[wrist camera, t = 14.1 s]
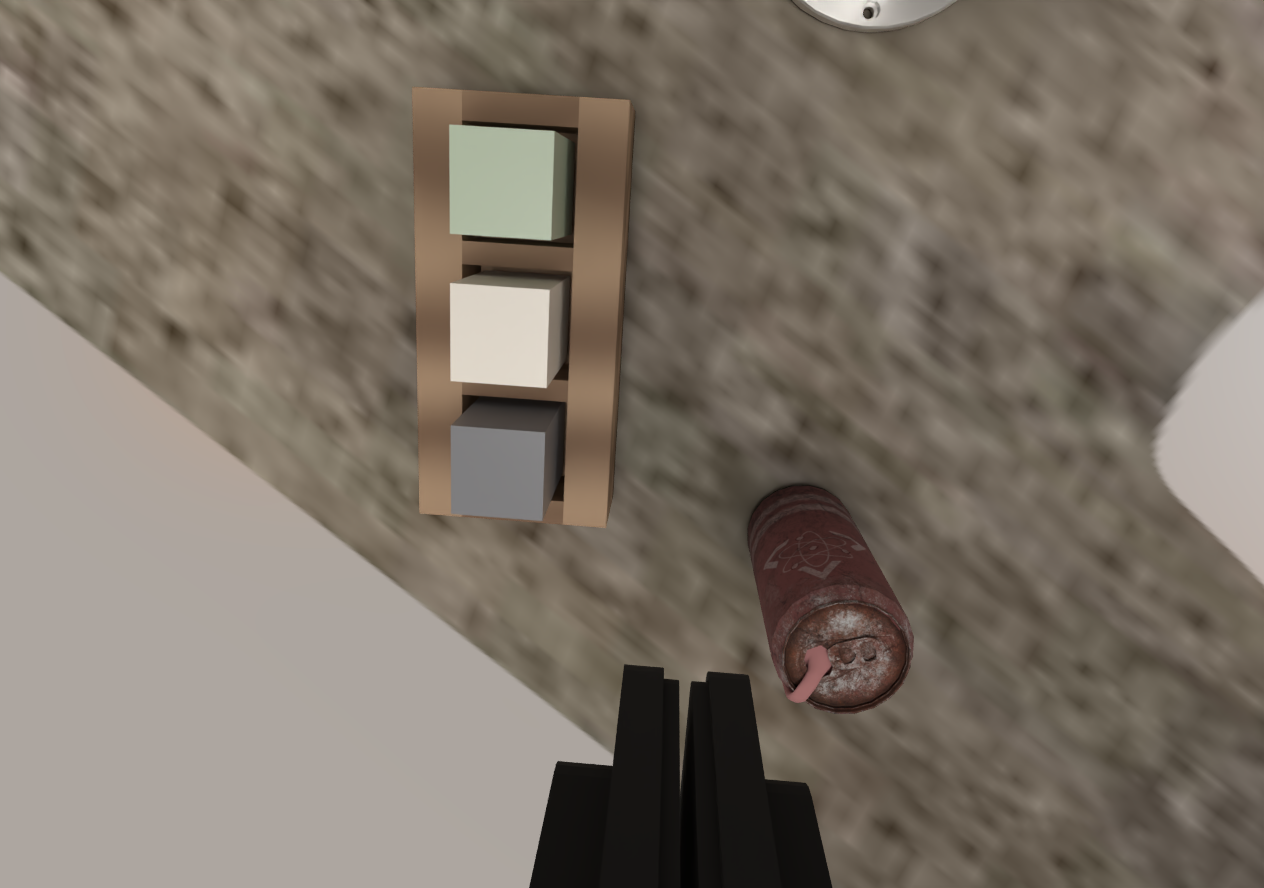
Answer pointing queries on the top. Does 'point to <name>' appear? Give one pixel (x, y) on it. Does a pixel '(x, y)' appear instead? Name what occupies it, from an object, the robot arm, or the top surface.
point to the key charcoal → (507, 457)
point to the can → (826, 604)
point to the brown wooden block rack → (582, 255)
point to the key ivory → (508, 328)
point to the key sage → (510, 182)
